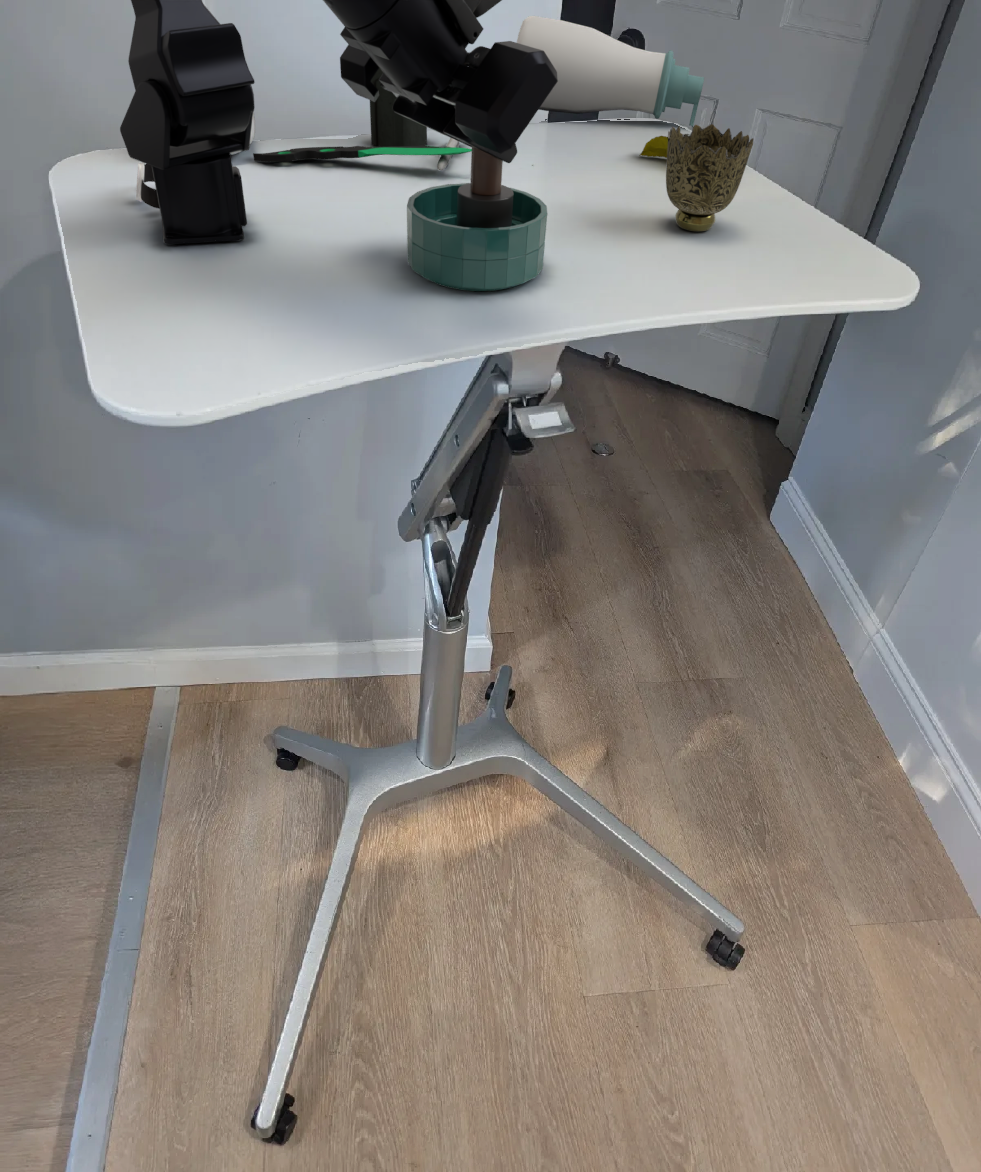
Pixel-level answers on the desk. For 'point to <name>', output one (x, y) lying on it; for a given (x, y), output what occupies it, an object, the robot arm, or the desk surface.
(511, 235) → the bowl
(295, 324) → the desk surface
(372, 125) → the dark bottle
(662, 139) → the decorative leaf
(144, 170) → the watch
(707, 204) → the cup
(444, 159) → the pen
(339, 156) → the knife
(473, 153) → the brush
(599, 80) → the soap bottle
